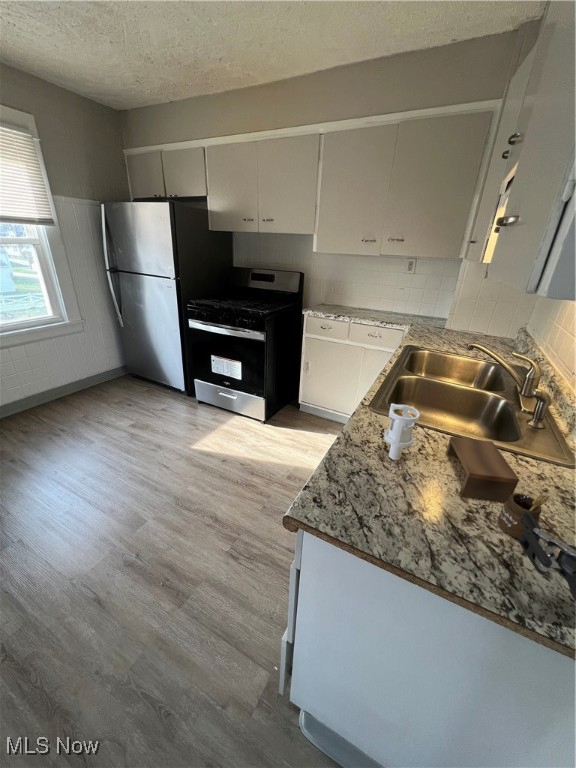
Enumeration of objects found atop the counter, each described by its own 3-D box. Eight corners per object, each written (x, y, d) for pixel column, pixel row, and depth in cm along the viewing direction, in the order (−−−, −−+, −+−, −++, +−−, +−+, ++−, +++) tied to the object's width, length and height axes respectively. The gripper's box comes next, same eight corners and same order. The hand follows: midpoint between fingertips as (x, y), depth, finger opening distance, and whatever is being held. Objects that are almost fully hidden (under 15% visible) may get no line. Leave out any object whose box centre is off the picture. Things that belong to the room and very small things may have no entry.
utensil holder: (522, 518, 66) (543, 474, 61) (538, 544, 60) (563, 498, 55) (491, 513, 67) (510, 469, 62) (505, 539, 61) (527, 492, 56)
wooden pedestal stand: (484, 463, 82) (492, 441, 79) (508, 503, 70) (519, 479, 67) (443, 458, 83) (450, 436, 80) (460, 497, 71) (469, 472, 68)
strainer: (384, 445, 88) (393, 398, 81) (410, 453, 85) (422, 405, 78) (378, 459, 82) (388, 409, 76) (406, 468, 79) (418, 417, 73)
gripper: (712, 617, 37) (609, 509, 51) (576, 593, 39) (514, 496, 53) (676, 651, 40) (588, 540, 54) (552, 627, 42) (499, 527, 56)
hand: (551, 518), depth 54 cm, fingers open, 8 cm apart
